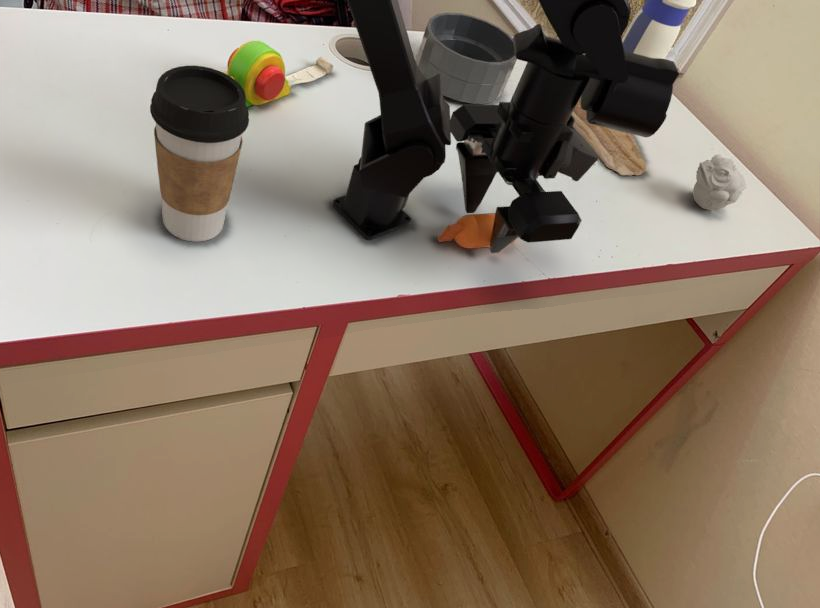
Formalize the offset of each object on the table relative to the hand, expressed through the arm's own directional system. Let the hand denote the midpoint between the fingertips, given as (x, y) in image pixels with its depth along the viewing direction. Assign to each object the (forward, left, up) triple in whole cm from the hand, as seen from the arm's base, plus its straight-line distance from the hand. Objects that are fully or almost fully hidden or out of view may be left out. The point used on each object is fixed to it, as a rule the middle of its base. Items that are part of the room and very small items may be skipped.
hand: (481, 231), depth 78 cm
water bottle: (+53, +16, -1) cm, 55 cm away
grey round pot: (+22, +25, -1) cm, 34 cm away
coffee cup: (-27, +15, -1) cm, 31 cm away
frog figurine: (+35, -10, -1) cm, 36 cm away
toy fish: (0, 0, -1) cm, 1 cm away
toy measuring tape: (-5, +32, -1) cm, 33 cm away
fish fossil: (+36, +10, -1) cm, 38 cm away
